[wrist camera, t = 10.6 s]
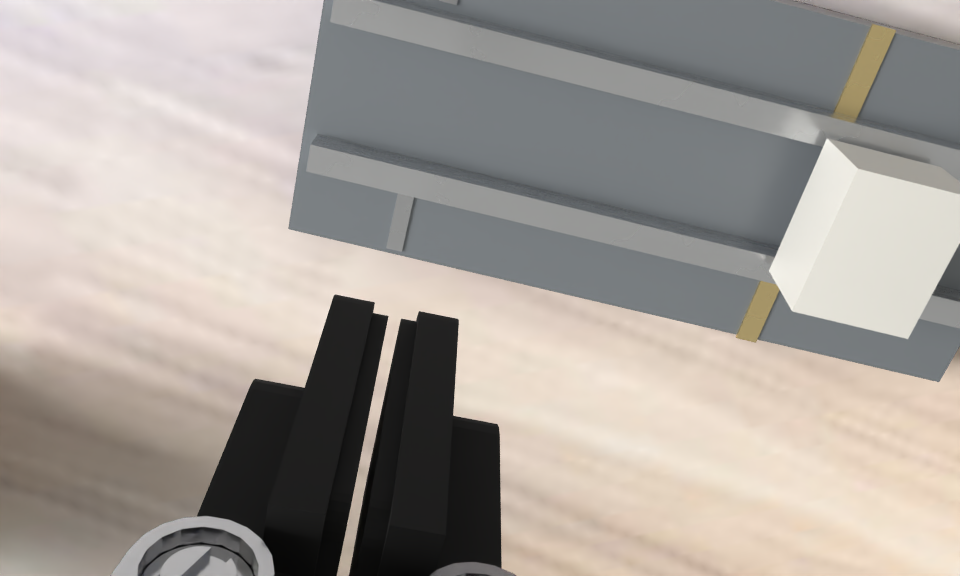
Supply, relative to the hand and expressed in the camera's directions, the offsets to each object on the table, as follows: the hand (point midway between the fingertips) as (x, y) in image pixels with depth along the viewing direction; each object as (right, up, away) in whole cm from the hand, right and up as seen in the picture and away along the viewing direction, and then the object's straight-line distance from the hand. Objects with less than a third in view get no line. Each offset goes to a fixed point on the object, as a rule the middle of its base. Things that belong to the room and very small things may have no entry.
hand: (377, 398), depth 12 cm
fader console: (+8, +7, +21) cm, 24 cm away
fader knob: (+14, +4, +20) cm, 25 cm away
